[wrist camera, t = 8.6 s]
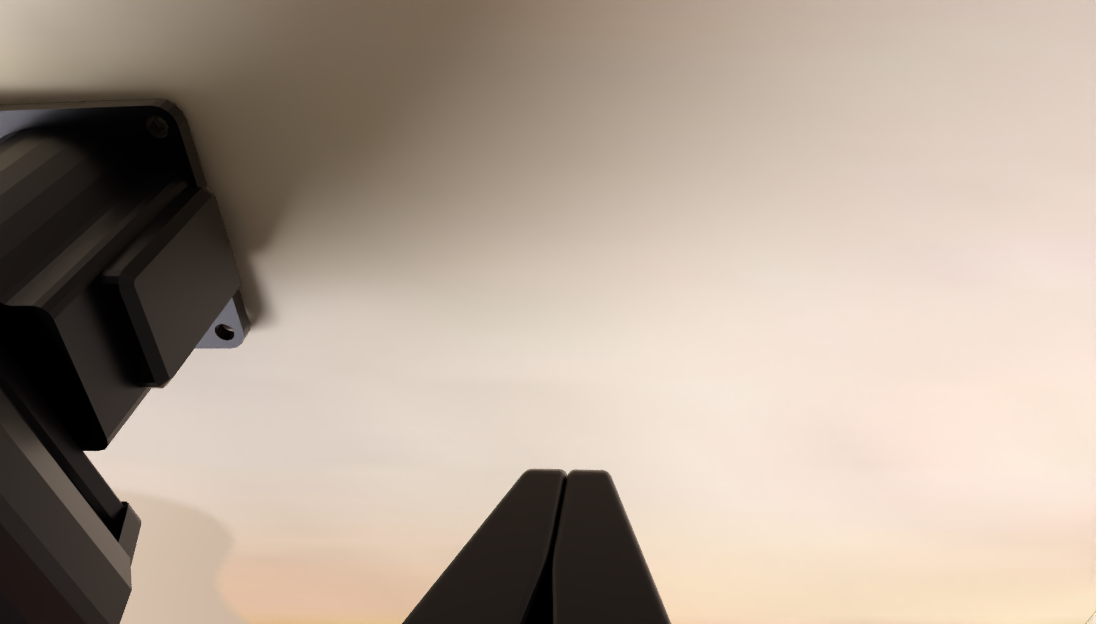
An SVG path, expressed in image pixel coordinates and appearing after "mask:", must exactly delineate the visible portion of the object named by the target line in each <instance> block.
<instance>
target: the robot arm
mask: <svg viewBox="0 0 1096 624" xmlns="http://www.w3.org/2000/svg"><path fill="white" fill-rule="evenodd" d="M154 116H157V117H160V118H161V119H163V120H164V121H165V122H166V124H167V125H168V130H169V131H166V130H163V129H161V128H160V127H159V126H158V125H157V124H156V122H155V117H154ZM240 286H241V279H240V276H239V273H238V269H237V266H236V263H235V260H234V256H233V253H232V250H231V246H230V243H229V240H228V237H227V233H226V230H225V227H224V224H223V220H222V217H221V214H220V210H219V207H218V204H217V201H216V197H215V196H214V194H213V193H212V192H211V191H210V190H209V189H208V188H207V185H206V181H205V178H204V175H203V172H202V168H201V165H200V162H199V159H198V155H197V152H196V149H195V146H194V142H193V139H192V136H191V133H190V129H189V126H188V123H187V120H186V118H185V116H184V114H183V112H182V111H181V110H180V109H179V107H178V106H177V105H175V104H174V103H172V102H170V101H168V100H163V99H140V100H115V101H89V102H64V103H38V104H13V105H0V624H119V623H120V621H121V618H122V615H123V612H124V610H125V607H126V604H127V601H128V599H129V596H130V593H131V590H132V586H131V564H132V559H133V555H134V551H135V547H136V542H137V539H138V534H139V531H140V527H141V520H140V518H139V517H138V516H137V514H136V513H135V512H134V510H133V509H132V508H131V506H130V505H129V503H127V502H121V501H120V500H119V499H118V497H117V496H116V495H115V493H114V492H113V491H112V489H111V488H110V487H109V485H108V484H107V483H106V481H105V480H104V479H103V477H102V476H101V475H100V473H99V472H98V471H97V469H96V468H95V467H94V465H93V464H92V463H91V461H90V460H89V459H88V457H87V456H86V455H85V453H84V452H83V451H100V450H105V449H106V447H107V446H108V445H109V443H110V442H111V441H112V439H113V438H114V437H115V435H116V434H117V433H118V431H119V430H120V429H121V428H122V426H123V425H124V424H125V422H126V421H127V420H128V418H129V417H130V416H131V414H132V413H133V412H134V410H135V409H136V408H137V406H138V405H139V404H140V402H141V401H142V400H143V398H144V397H145V396H146V395H147V393H148V392H149V391H150V389H151V388H164V387H165V386H166V385H167V384H168V383H169V382H170V381H171V379H172V378H173V377H174V375H175V374H176V373H177V371H178V370H179V369H180V367H181V366H182V364H183V363H184V362H185V360H186V359H187V358H188V356H189V355H190V354H191V352H192V351H193V350H194V348H235V347H237V346H239V345H240V344H242V342H243V341H244V339H245V338H246V336H247V335H248V332H249V330H250V326H249V321H248V318H247V314H246V311H245V308H244V305H243V301H242V298H241V295H240V292H239V287H240ZM222 324H225V325H228V326H229V327H231V328H232V329H233V331H234V332H232V331H228V330H227V329H225V328H224V327H223V325H222ZM402 624H671V622H670V620H669V617H668V615H667V612H666V610H665V607H664V605H663V602H662V600H661V598H660V595H659V593H658V590H657V588H656V585H655V583H654V580H653V578H652V575H651V573H650V571H649V568H648V566H647V563H646V561H645V558H644V556H643V553H642V551H641V549H640V546H639V544H638V541H637V539H636V536H635V534H634V531H633V529H632V526H631V524H630V522H629V519H628V517H627V514H626V512H625V509H624V507H623V504H622V502H621V500H620V497H619V495H618V492H617V490H616V487H615V485H614V482H613V480H612V478H611V476H610V474H609V473H608V472H607V471H604V470H572V471H571V472H570V473H569V474H568V475H567V474H566V472H565V471H563V470H560V469H529V470H527V471H525V472H524V473H523V474H522V475H521V477H520V478H519V479H518V480H517V482H516V483H515V484H514V485H513V487H512V488H511V489H510V490H509V492H508V493H507V494H506V495H505V497H504V498H503V499H502V500H501V502H500V503H499V504H498V505H497V506H496V508H495V509H494V510H493V511H492V513H491V514H490V515H489V516H488V518H487V519H486V520H485V521H484V523H483V524H482V525H481V526H480V528H479V529H478V530H477V531H476V533H475V534H474V535H473V536H472V538H471V539H470V540H469V541H468V542H467V544H466V545H465V546H464V547H463V549H462V550H461V551H460V552H459V554H458V555H457V556H456V557H455V559H454V560H453V561H452V562H451V564H450V565H449V566H448V567H447V569H446V570H445V571H444V572H443V573H442V575H441V576H440V577H439V578H438V580H437V581H436V582H435V583H434V585H433V586H432V587H431V588H430V590H429V591H428V592H427V593H426V595H425V596H424V597H423V598H422V600H421V601H420V602H419V603H418V604H417V606H416V607H415V608H414V609H413V611H412V612H411V613H410V614H409V616H408V617H407V618H406V619H405V621H404V622H403V623H402Z"/></svg>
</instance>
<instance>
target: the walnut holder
mask: <svg viewBox="0 0 1096 624" xmlns="http://www.w3.org/2000/svg"><path fill="white" fill-rule="evenodd" d="M1086 624H1096V612H1095V613H1094V615H1093V616H1092V617H1091V618H1090V620H1089V621H1088V622H1087V623H1086Z"/></svg>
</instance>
